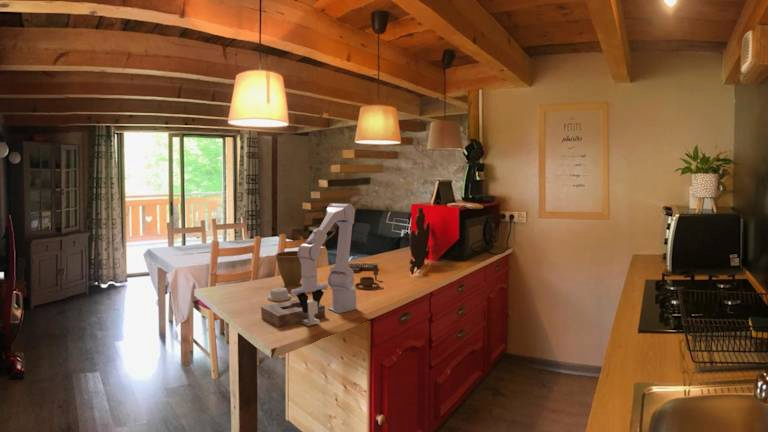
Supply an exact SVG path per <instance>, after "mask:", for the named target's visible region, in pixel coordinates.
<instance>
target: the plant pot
mask: <svg viewBox="0 0 768 432" xmlns="http://www.w3.org/2000/svg"><path fill="white" fill-rule="evenodd" d="M297 252H298V250H288V251H281V252H278V253H276V254H275V257H276V262H277V263H276V264H277V266H278V267H277V269H278V271H279V273H280V276H281V279H282V282H283V284H284V286H285V287H297V286H300V285H301V283H302V273H301V263H300V259H299V257H298V254H297Z"/></svg>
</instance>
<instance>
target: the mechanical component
mask: <svg viewBox="0 0 768 432" xmlns="http://www.w3.org/2000/svg"><path fill="white" fill-rule="evenodd" d="M290 299H291V293H289V292H288V288H286V287H275V288H272V289H270V294H269V295H268V296H267V300H268V301H271V302H285V301H288V300H290Z"/></svg>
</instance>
